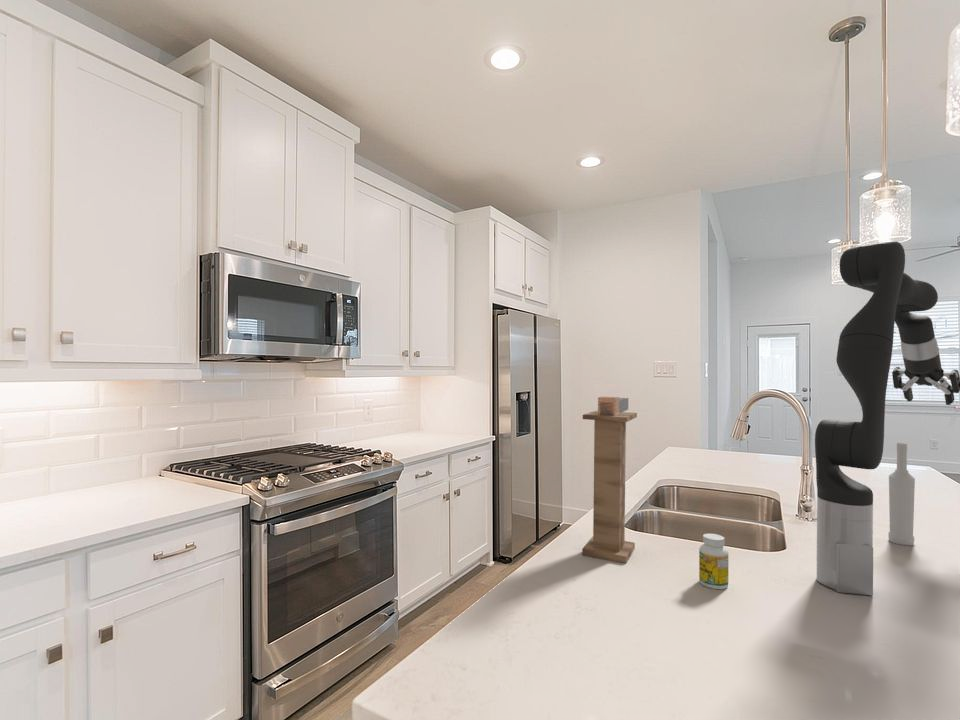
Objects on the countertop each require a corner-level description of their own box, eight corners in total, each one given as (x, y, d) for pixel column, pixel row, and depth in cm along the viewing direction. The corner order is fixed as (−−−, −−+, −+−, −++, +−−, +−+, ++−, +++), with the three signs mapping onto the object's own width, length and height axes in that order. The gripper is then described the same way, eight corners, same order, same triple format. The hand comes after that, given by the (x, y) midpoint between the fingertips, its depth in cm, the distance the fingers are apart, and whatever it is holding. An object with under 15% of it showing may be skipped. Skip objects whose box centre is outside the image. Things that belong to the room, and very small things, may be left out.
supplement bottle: (734, 588, 101) (734, 539, 101) (712, 591, 99) (712, 542, 99) (714, 577, 106) (714, 531, 106) (693, 580, 104) (693, 533, 104)
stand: (594, 540, 127) (595, 410, 127) (635, 547, 122) (636, 412, 123) (581, 556, 116) (582, 414, 116) (625, 564, 112) (627, 417, 112)
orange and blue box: (614, 409, 133) (614, 393, 133) (630, 409, 131) (630, 394, 131) (597, 414, 117) (598, 397, 117) (615, 415, 115) (615, 398, 115)
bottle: (904, 539, 131) (905, 442, 131) (920, 546, 126) (920, 445, 126) (883, 538, 131) (883, 441, 132) (897, 545, 126) (898, 445, 126)
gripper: (883, 358, 142) (893, 406, 147) (949, 360, 130) (958, 412, 135) (893, 344, 145) (903, 391, 150) (959, 345, 133) (967, 396, 138)
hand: (929, 401), depth 142 cm, fingers open, 8 cm apart
